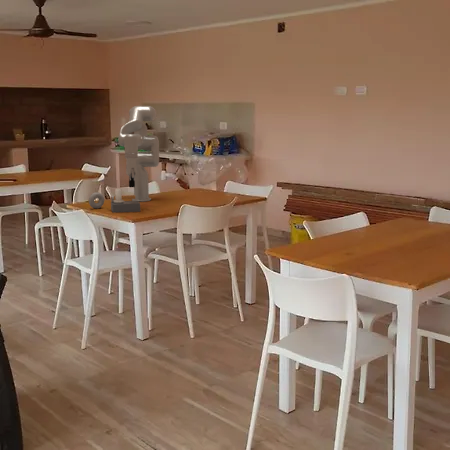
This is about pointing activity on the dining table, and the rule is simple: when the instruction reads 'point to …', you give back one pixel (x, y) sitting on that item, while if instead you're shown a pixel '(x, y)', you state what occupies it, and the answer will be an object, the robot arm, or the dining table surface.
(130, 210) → the socket block
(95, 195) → the donut
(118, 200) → the plug
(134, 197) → the clip
